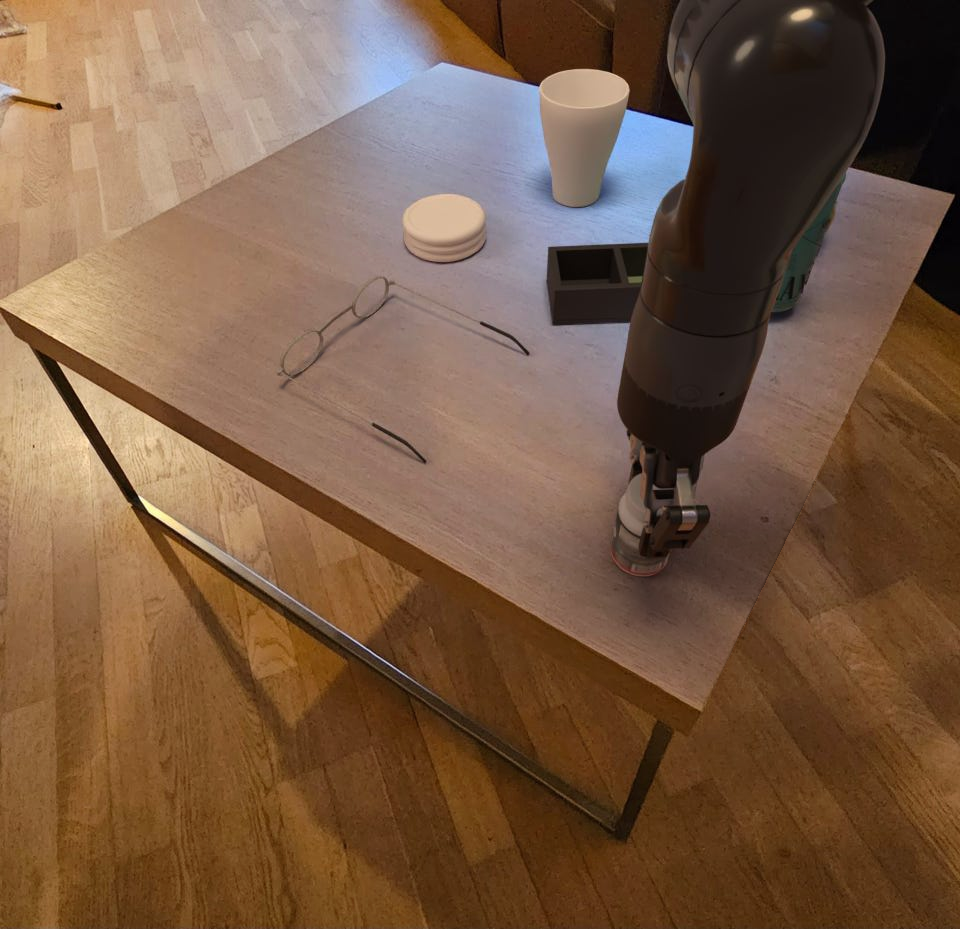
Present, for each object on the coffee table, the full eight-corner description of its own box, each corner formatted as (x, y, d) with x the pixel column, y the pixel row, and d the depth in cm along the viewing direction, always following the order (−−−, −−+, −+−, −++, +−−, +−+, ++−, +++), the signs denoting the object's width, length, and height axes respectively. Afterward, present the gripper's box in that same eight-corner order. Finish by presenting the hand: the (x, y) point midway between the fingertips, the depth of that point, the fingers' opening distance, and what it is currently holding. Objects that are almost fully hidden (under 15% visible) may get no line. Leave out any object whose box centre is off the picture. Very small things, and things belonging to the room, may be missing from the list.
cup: (614, 219, 90) (628, 110, 80) (531, 214, 91) (534, 106, 81) (617, 176, 97) (631, 70, 86) (539, 172, 98) (543, 67, 88)
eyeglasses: (390, 293, 82) (386, 263, 79) (530, 358, 75) (532, 328, 72) (277, 385, 73) (267, 356, 70) (424, 469, 66) (421, 441, 63)
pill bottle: (629, 519, 61) (644, 456, 55) (679, 549, 59) (700, 486, 53) (598, 557, 59) (609, 495, 52) (648, 588, 57) (666, 529, 50)
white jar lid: (437, 274, 84) (435, 248, 81) (388, 238, 89) (385, 212, 86) (502, 241, 88) (502, 215, 85) (452, 208, 93) (450, 183, 90)
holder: (546, 281, 83) (548, 246, 79) (675, 276, 83) (683, 240, 79) (552, 325, 78) (554, 290, 74) (690, 319, 78) (698, 284, 74)
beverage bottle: (733, 320, 77) (790, 136, 62) (735, 283, 81) (788, 102, 66) (797, 328, 76) (871, 142, 61) (795, 290, 80) (863, 107, 65)
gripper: (789, 447, 38) (716, 604, 51) (723, 281, 47) (676, 451, 60) (647, 452, 38) (611, 608, 51) (608, 286, 47) (586, 454, 60)
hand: (646, 522), depth 56 cm, fingers closed on pill bottle, 4 cm apart
